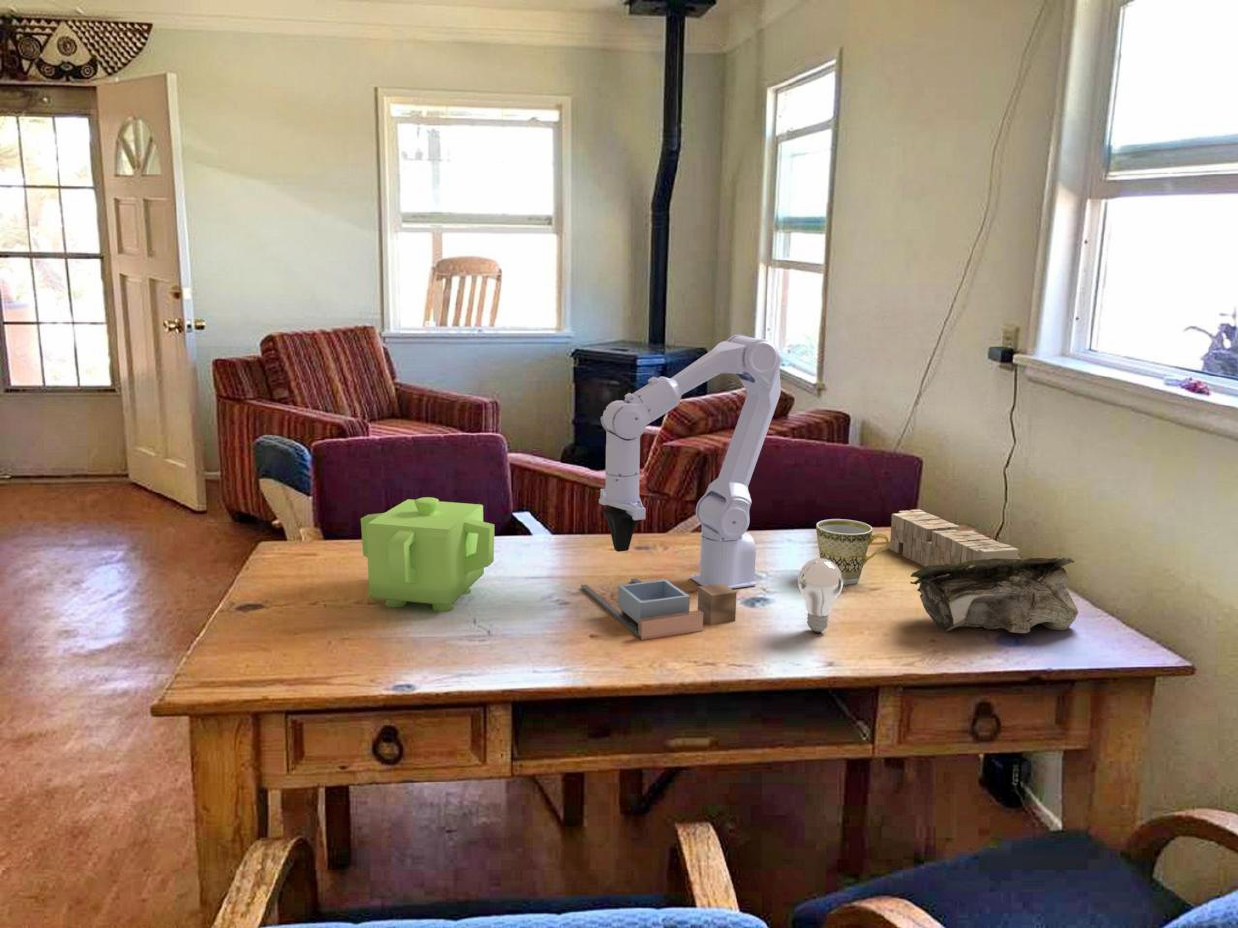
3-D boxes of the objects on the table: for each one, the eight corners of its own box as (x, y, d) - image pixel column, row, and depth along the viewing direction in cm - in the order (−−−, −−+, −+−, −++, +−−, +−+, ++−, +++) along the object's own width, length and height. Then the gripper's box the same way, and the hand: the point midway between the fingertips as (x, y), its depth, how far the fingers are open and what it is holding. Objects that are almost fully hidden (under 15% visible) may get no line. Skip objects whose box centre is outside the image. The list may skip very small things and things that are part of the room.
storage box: (397, 569, 185) (394, 478, 181) (515, 579, 180) (514, 486, 177) (332, 617, 161) (327, 513, 157) (466, 630, 156) (464, 524, 153)
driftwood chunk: (909, 658, 161) (942, 618, 148) (889, 586, 168) (919, 542, 155) (1074, 647, 164) (1119, 607, 152) (1048, 577, 171) (1089, 533, 159)
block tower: (884, 552, 204) (978, 595, 177) (886, 511, 203) (982, 548, 176) (917, 548, 207) (1015, 590, 180) (920, 508, 205) (1019, 544, 178)
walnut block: (721, 612, 166) (722, 583, 165) (735, 621, 162) (736, 592, 161) (697, 615, 165) (698, 586, 164) (710, 625, 161) (711, 595, 160)
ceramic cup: (807, 583, 181) (811, 529, 179) (818, 567, 190) (822, 516, 188) (881, 593, 176) (885, 538, 174) (889, 577, 185) (893, 524, 183)
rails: (636, 581, 180) (636, 565, 180) (702, 630, 158) (703, 612, 157) (581, 588, 176) (581, 571, 176) (641, 640, 154) (641, 621, 153)
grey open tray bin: (664, 605, 168) (665, 579, 167) (688, 623, 160) (689, 596, 159) (617, 612, 164) (618, 585, 163) (639, 630, 157) (640, 602, 156)
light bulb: (813, 643, 154) (818, 568, 151) (785, 627, 160) (790, 555, 157) (849, 635, 157) (854, 562, 154) (820, 621, 163) (825, 550, 160)
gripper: (584, 465, 174) (584, 540, 177) (618, 484, 161) (616, 565, 164) (621, 462, 177) (620, 536, 180) (657, 480, 164) (655, 560, 167)
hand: (621, 550), depth 172 cm, fingers closed
